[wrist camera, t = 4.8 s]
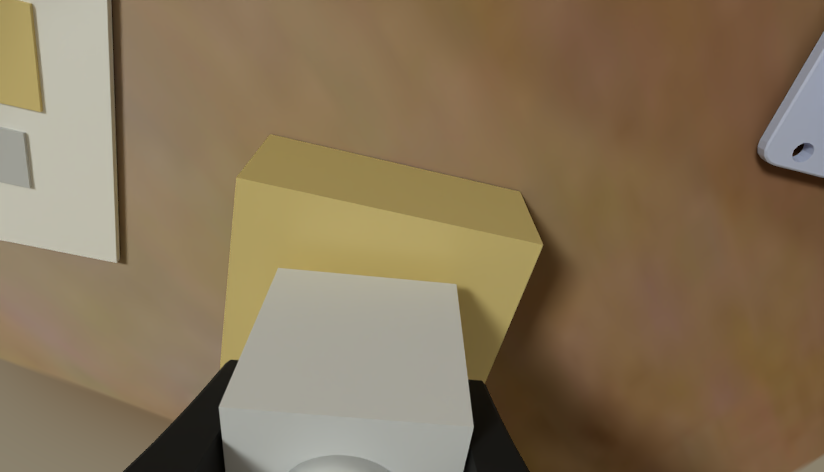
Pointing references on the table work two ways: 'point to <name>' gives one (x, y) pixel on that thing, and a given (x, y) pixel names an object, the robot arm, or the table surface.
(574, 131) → the table surface
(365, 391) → the top brick
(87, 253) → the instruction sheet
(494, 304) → the base brick
